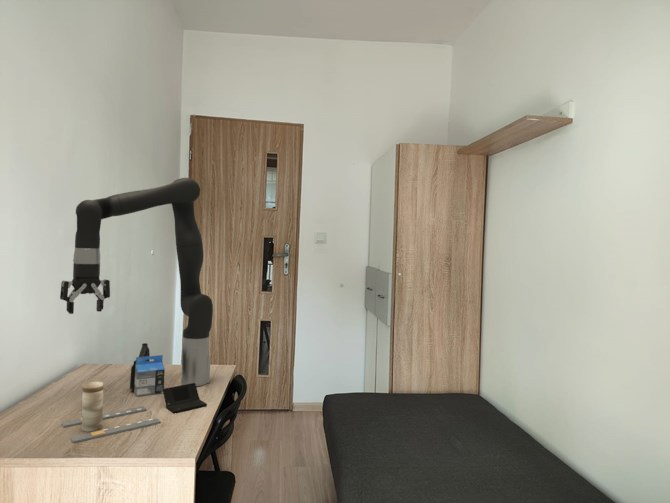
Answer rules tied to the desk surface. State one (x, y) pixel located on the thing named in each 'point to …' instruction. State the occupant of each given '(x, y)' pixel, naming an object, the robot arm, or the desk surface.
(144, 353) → the black tall piece
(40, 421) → the desk surface
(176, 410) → the handheld gaming console
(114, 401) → the desk surface
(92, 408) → the cream stub
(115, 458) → the desk surface
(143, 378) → the label tape cartridge
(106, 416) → the dashed lane plates
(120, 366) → the desk surface
